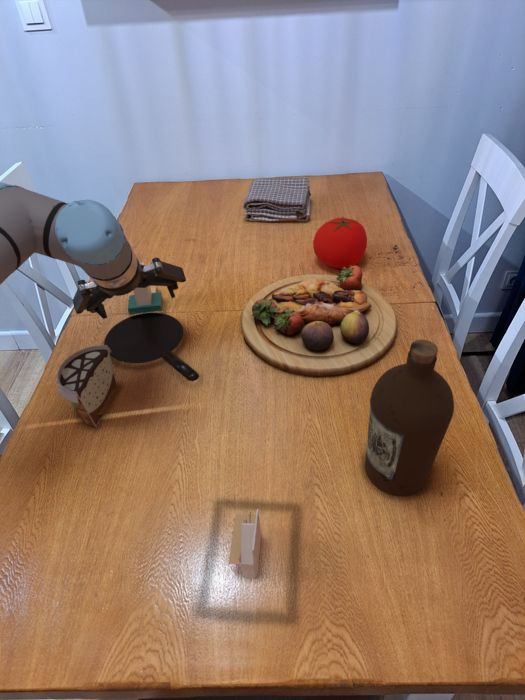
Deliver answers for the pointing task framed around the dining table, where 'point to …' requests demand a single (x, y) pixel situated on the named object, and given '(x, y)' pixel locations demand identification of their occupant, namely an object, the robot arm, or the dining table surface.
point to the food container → (87, 381)
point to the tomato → (340, 242)
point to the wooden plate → (319, 323)
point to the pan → (148, 341)
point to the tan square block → (153, 289)
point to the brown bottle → (407, 422)
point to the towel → (278, 200)
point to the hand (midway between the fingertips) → (137, 301)
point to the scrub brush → (144, 300)
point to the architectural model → (246, 544)
